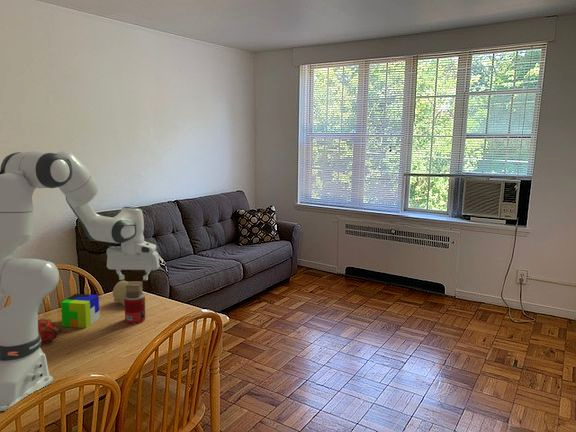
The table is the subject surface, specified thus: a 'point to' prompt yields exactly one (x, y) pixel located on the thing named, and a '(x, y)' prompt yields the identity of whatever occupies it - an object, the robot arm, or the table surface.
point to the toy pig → (120, 291)
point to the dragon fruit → (47, 330)
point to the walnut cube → (134, 289)
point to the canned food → (134, 309)
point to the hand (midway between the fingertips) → (133, 279)
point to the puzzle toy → (80, 310)
